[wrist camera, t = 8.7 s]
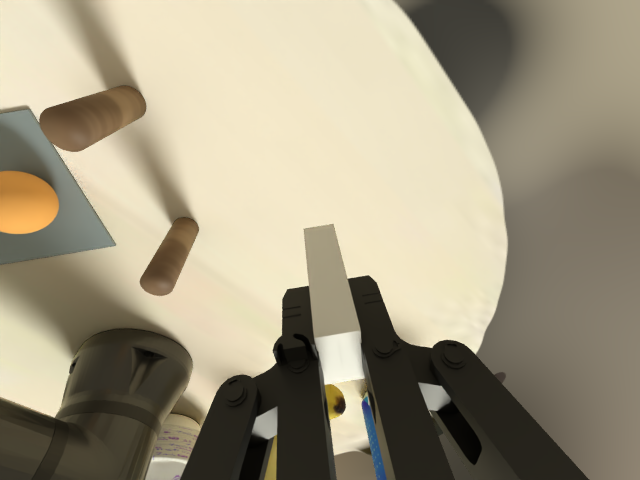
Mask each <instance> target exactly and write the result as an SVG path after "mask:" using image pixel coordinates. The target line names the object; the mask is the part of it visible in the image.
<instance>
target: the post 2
mask: <svg viewBox="0 0 640 480" xmlns="http://www.w3.org/2000/svg"><path fill="white" fill-rule="evenodd" d="M198 232H199V227H198V225H197V223H196V222H195V221H194V220H192V219H190V218H186V217H181V218H178V219H177V220H175V222H174V223H173V225H172V227H171V228H170V230H169V232H168V233H167V235H166V237H165V238H164V240H163V242H162V243H161V245H160V247H159V248H158V250H157V252H156V253H155V255H154V257H153V259H152V260H151V262H150V264H149V265H148V267H147V269H146V270H145V272H144V274H143V275H142V277H141V279H140V285H141V287H142V288H143V289H144V290H145V291H146V292H148V293H150V294H152V295H157V296H163V295H167V294H169V293H170V292H172V290H173V288H174V286H175V284H176V281H177V279H178V277H179V275H180V272H181V270H182V268H183V266H184V263H185V261H186V259H187V257H188V254H189V252H190V250H191V248H192V245H193V243H194V241H195V239H196V236H197V234H198Z"/></svg>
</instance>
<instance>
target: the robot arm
mask: <svg viewBox="0 0 640 480" xmlns="http://www.w3.org/2000/svg"><path fill="white" fill-rule="evenodd" d="M304 238H305V248H306V259H307V269H308V280H309V286H305V287H299V288H293V289H287V291H286V293H285V295H284V297H283V300H282V309H283V311H282V318H283V319H282V336H281V337H279V339H278V340H277V341H276V343H275V344H274V348H273V353H274V356H275V359H276V362H277V363H276V364H275V365H274V366H273V367H272V368H271V369H269V370H268V371H266V372H264V373H262V374H260V375H258V376H256V377H254V378H251V377H250V376H247V375H236V376H233V377H231V378H229V379H227V380H226V381H225V382H224V383H223V384H222V385H221V386H220V388H219V389H218V391H217V393H216V395H215V397H214V400H213V402H212V404H211V407H210V409H209V412H208V414H207V416H206V419H205V421H204V423H203V426H202V428H201V431H200V433H199V435H198V438H197V440H196V442H195V445H194V447H193V450H192V452H191V454H190V457H189V459H188V461H187V464H186V466H185V469H184V471H183V473H182V476H181V478H180V480H264V478H265V474H266V470H267V466H268V461H269V457H270V453H271V449H272V445H273V440H274V436H275V435H277V460H276V480H337V479H336V471H335V463H334V453H333V445H332V436H331V428H330V419H329V411H328V403H327V397H326V392H325V385H327V384H333V383H339V382H345V381H351V380H357V379H363V378H365V380H366V385H367V395H368V405H370V408H371V412H372V416H373V421H374V425H375V430H376V434H377V439H378V443H379V447H380V452H381V456H382V461H383V465H384V469H385V474H386V478H387V480H455V479H454V476H453V474H452V471H451V469H450V466H449V463H448V460H447V458H446V455H445V453H444V450H443V447H442V445H441V442H440V439H439V437H438V434H437V431H436V429H435V426H434V423H433V421H432V418H431V416H430V413H429V411H430V412H431V414H432V415H433V417H434V418H435V420H436V422H437V423H438V425H439V426H440V428H441V429H442V431H443V432H444V434H445V436H446V437H447V439H448V440H449V442H450V443H451V445H452V446H453V448H454V450H455V451H456V453H457V454H458V456H459V457H460V459H461V460H462V462H463V464H464V465H465V467H466V468H467V469H468V471H469V473H470V475H471V476H472V477H473V479H474V480H589V479H588V478H587V477H586V476H585V475H584V474H583V472H582V471H581V470H580V469H579V468H578V467H577V466H576V465H575V464H574V463H573V462H572V460H571V459H570V458H569V457H568V456H567V455H566V454H565V453H564V452H563V450H562V449H561V448H560V447H559V446H558V445H557V444H556V443H555V442H554V441H553V439H552V438H551V437H550V436H549V435H548V434H547V433H546V432H545V431H544V430H543V429H542V427H541V426H540V425H539V424H538V423H537V422H536V421H535V420H534V419H533V418H532V416H531V415H530V414H529V413H528V412H527V411H526V410H525V409H524V408H523V407H522V405H521V404H520V403H519V402H518V401H517V400H516V399H515V398H514V397H513V396H512V394H511V393H510V392H509V391H508V390H507V389H506V388H505V387H504V386H503V385H502V383H501V382H500V381H499V380H498V379H497V378H496V377H495V376H494V375H493V374H492V373H491V371H490V370H489V369H488V368H487V367H486V366H485V365H484V364H483V363H482V362H481V360H480V359H479V358H478V357H477V356H476V355H475V354H474V353H473V352H472V351H471V350H470V349H469V348H468V347H467V346H465V345H464V344H462V343H460V342H457V341H453V340H444V341H439V342H438V343H436V344H435V345H434V346H433V348H428V347H420V346H415V345H411V344H409V343H406V342H405V341H403V340H402V339H400V338H399V336H398V335H397V334H396V332H395V331H394V328H393V326H392V323H391V320H390V318H389V315H388V312H387V309H386V307H385V304H384V302H383V299H382V296H381V294H380V290H379V288H378V285H377V283H376V282H375V281H374V280H373V279H372V278H371V277H370V276H369V275H368V276H362V277H356V278H350V279H347V275H346V271H345V267H344V263H343V259H342V255H341V252H340V248H339V244H338V240H337V236H336V232H335V228H334V224H330V225H324V226H318V227H312V228H306V229H304ZM192 369H193V364H192V360H191V357H190V356H189V354H188V353H187V352H186V350H185V349H184V348H182V347H181V346H180V345H179V344H177V343H176V342H174V341H172V340H170V339H168V338H166V337H164V336H161V335H158V334H155V333H152V332H148V331H142V330H133V329H119V330H110V331H106V332H102V333H99V334H96V335H94V336H92V337H91V338H89V339H88V340H86V341H85V342H84V343H83V345H82V346H81V347H80V349H79V351H78V352H77V354H76V355H75V357H74V358H73V360H72V362H71V366H70V371H69V373H70V375H69V377H68V380H67V384H66V387H65V391H64V396H63V400H62V404H61V408H60V410H59V411H58V413H57V415H56V417H55V418H53V417H52V416H49V415H46V414H44V413H41V412H38V411H36V410H33V409H31V408H28V407H25V406H23V405H20V404H17V403H15V402H12V401H9V400H7V399H4V398H1V397H0V480H145V479H146V476H147V473H148V469H149V466H150V463H151V460H152V457H153V453H154V450H155V447H156V444H157V440H158V437H159V434H160V431H161V428H162V425H163V423H164V421H165V420H166V418H167V417H168V415H169V414H170V412H171V410H172V409H173V407H174V406H175V404H176V403H177V401H178V399H179V398H180V396H181V394H182V393H183V392H184V391H185V389H186V388H187V386H188V383H189V380H190V376H191V373H192Z"/></svg>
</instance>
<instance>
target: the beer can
mask: <svg viewBox="0 0 640 480" xmlns="http://www.w3.org/2000/svg"><path fill="white" fill-rule="evenodd" d="M362 409H363V414H364V419H365V424H366V429H367V433H368V438H369V443H370V448H371V453H372V458H373V463H374V467H375V472H376V477H377V480H387V478H386V474H385V469H384V465H383V461H382V456H381V452H380V447H379V443H378V439H377V434H376V430H375V425H374V421H373V416H372V412H371V408H370V405H368V395H367V392H366V393H365V395H364V399H363V401H362Z"/></svg>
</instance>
